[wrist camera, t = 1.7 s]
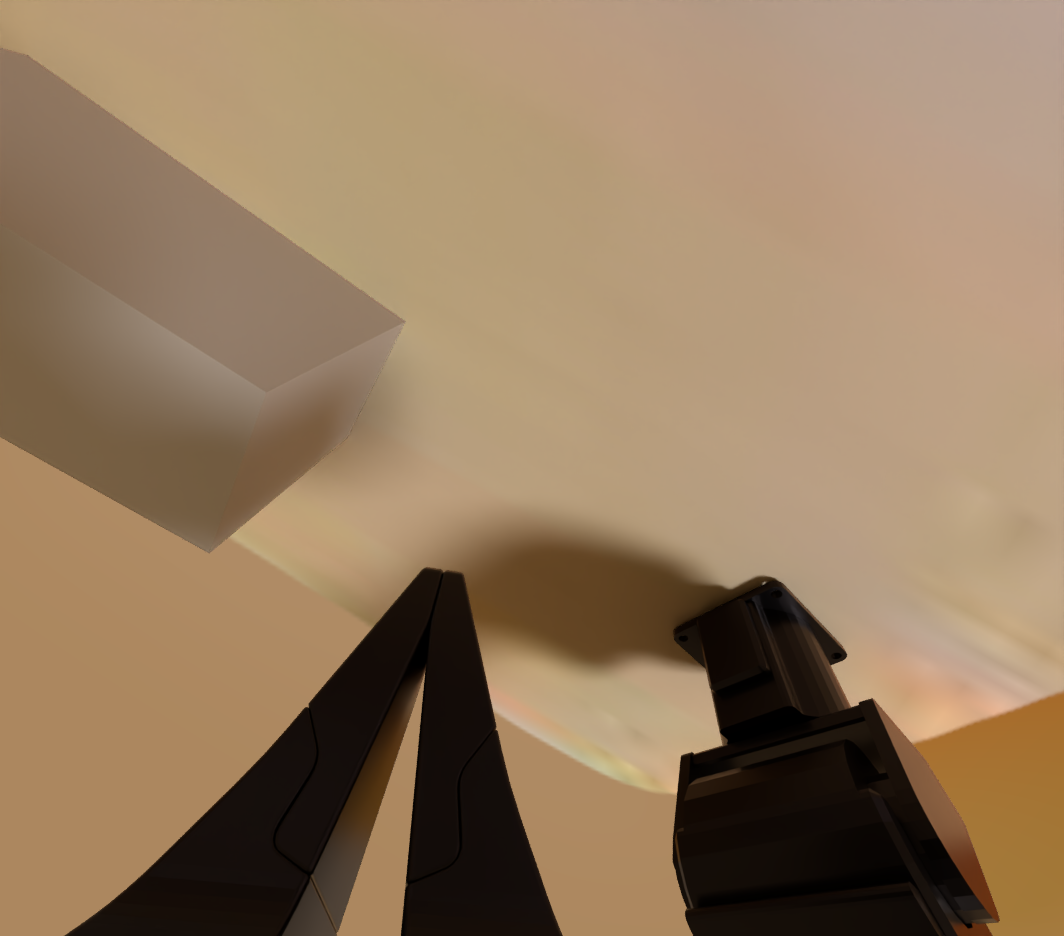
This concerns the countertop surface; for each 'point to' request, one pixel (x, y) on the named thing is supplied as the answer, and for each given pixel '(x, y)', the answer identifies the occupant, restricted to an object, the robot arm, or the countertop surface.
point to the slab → (163, 322)
